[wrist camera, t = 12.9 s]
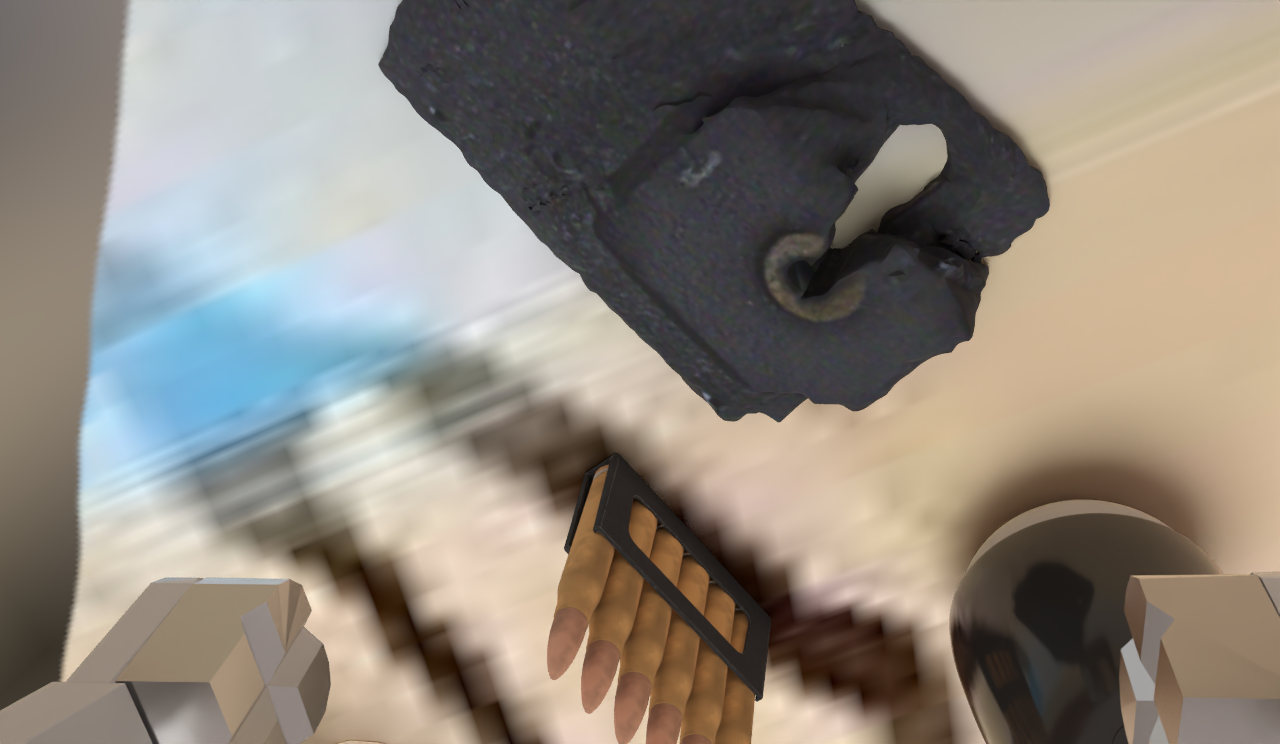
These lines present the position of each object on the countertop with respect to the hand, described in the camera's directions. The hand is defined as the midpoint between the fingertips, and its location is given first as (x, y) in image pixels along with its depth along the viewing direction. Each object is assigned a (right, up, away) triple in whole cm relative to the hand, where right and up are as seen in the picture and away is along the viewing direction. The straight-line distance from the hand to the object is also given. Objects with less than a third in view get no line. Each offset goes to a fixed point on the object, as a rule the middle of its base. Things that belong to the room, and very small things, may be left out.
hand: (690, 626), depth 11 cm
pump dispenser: (+17, -5, +34) cm, 39 cm away
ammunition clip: (+1, -5, +37) cm, 37 cm away
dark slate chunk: (+2, +11, +29) cm, 31 cm away
